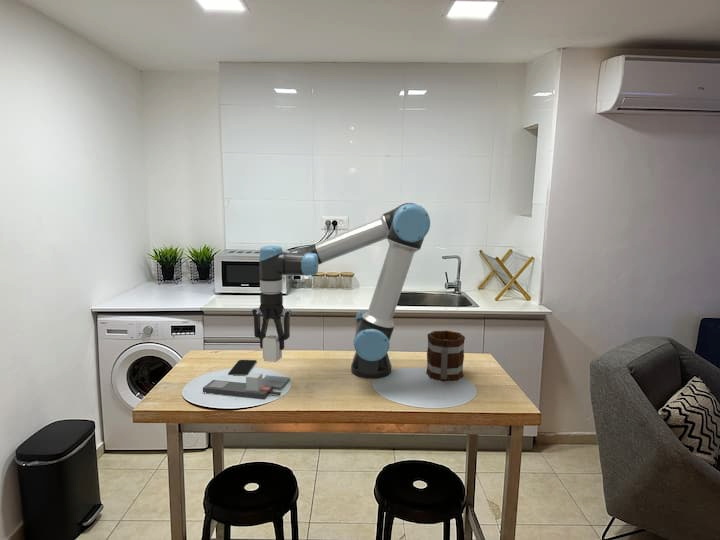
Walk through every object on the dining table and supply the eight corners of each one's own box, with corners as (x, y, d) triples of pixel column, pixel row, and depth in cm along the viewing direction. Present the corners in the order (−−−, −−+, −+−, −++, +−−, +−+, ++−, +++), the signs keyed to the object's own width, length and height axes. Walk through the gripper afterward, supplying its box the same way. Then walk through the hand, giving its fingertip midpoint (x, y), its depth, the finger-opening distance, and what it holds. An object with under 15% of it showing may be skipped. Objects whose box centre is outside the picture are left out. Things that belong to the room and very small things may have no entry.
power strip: (284, 391, 168) (284, 385, 167) (276, 400, 161) (276, 394, 161) (213, 384, 173) (213, 378, 173) (203, 392, 166) (202, 386, 166)
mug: (427, 366, 192) (428, 329, 189) (463, 369, 189) (465, 331, 187) (423, 386, 173) (424, 345, 170) (463, 390, 170) (465, 348, 168)
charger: (280, 357, 174) (280, 334, 173) (276, 362, 170) (275, 338, 169) (268, 356, 175) (268, 333, 174) (263, 360, 171) (263, 337, 170)
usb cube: (262, 386, 167) (262, 373, 167) (257, 390, 164) (257, 377, 163) (251, 384, 168) (251, 372, 167) (246, 389, 164) (246, 376, 164)
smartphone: (227, 374, 182) (239, 359, 196) (227, 376, 182) (239, 361, 197) (247, 374, 181) (257, 360, 196) (247, 377, 181) (257, 362, 196)
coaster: (290, 380, 178) (290, 377, 178) (281, 390, 169) (280, 387, 169) (266, 377, 180) (266, 375, 179) (256, 387, 171) (256, 385, 171)
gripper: (299, 291, 170) (300, 356, 174) (251, 288, 174) (253, 352, 178) (292, 295, 163) (292, 363, 167) (242, 292, 167) (244, 359, 171)
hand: (272, 357), depth 173 cm, fingers closed on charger, 4 cm apart
